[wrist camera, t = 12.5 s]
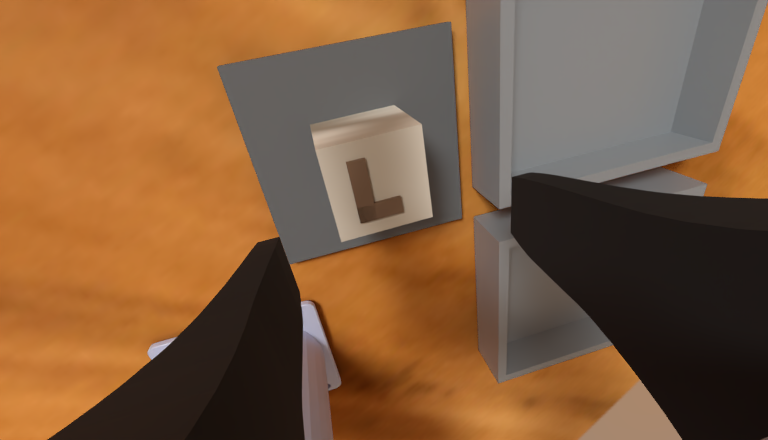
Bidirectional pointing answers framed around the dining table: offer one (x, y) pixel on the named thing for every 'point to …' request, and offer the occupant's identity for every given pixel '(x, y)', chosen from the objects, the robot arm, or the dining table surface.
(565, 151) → the tray
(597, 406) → the dining table surface
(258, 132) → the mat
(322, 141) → the letter cube
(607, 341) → the tray
